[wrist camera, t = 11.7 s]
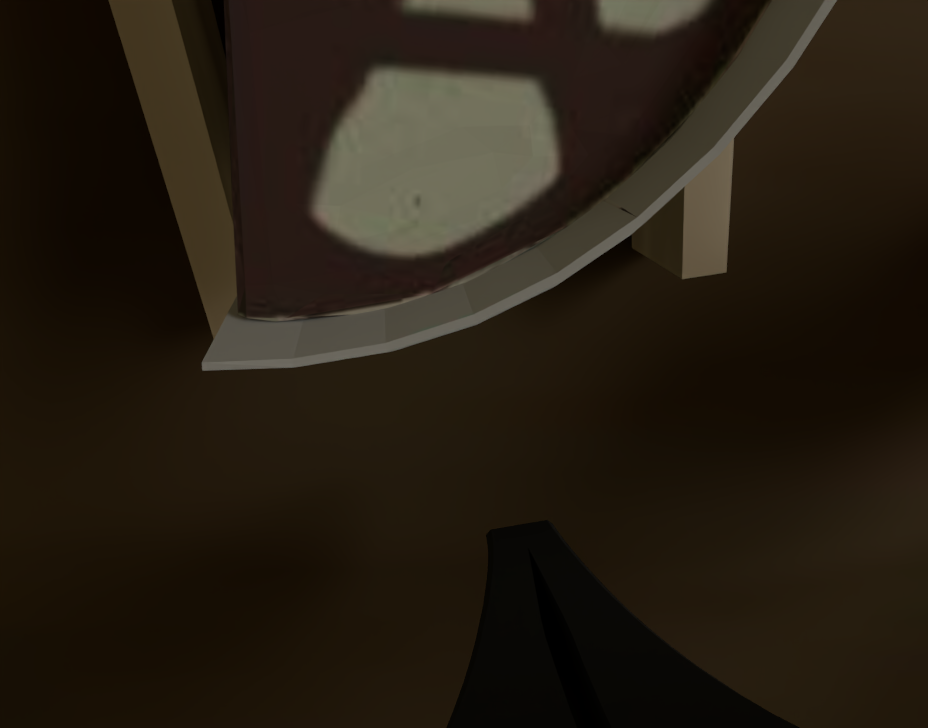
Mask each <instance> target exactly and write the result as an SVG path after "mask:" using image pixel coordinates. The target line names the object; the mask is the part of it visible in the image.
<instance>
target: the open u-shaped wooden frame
mask: <svg viewBox="0 0 928 728" xmlns="http://www.w3.org/2000/svg"><path fill="white" fill-rule="evenodd" d="M109 3H110V7H111V10H112V13H113V16H114V20H115V23H116V26H117V29H118V32H119V36H120V39H121V42H122V45H123V48H124V52H125V55H126V58H127V61H128V65H129V68H130V71H131V74H132V77H133V81H134V84H135V87H136V90H137V94H138V97H139V100H140V103H141V106H142V110H143V113H144V116H145V119H146V122H147V126H148V129H149V132H150V135H151V139H152V142H153V145H154V148H155V151H156V155H157V158H158V161H159V164H160V168H161V171H162V174H163V177H164V180H165V184H166V187H167V190H168V193H169V196H170V200H171V203H172V206H173V209H174V213H175V216H176V219H177V222H178V225H179V229H180V232H181V235H182V238H183V242H184V245H185V248H186V251H187V254H188V258H189V261H190V264H191V267H192V270H193V274H194V277H195V280H196V283H197V287H198V290H199V293H200V296H201V299H202V303H203V306H204V309H205V312H206V315H207V319H208V322H209V325H210V328H211V332H212V335H213V338H215V337H216V335H217V333H218V331H219V329H220V327H221V325H222V323H223V321H224V319H225V317H226V316H227V314H228V312H229V310H230V308H231V306H232V304H233V302H234V300H235V298H236V296H237V286H236V266H235V246H234V226H233V206H232V184H231V160H230V137H229V113H228V90H227V66H226V57H225V53H224V49H223V45H222V41H221V37H220V33H219V29H218V25H217V21H216V17H215V13H214V9H213V5H212V1H211V0H109ZM733 146H734V138H733V139H732V140H731V142H730V143H729V144H728V145H727V146H726V148H725V149H724V150H723V151H722V152H721V154H720V155H718V156H717V157H716V158H715V159H714V160H713V161H712V162H711V163H710V164H709V165H708V166H706V167H705V168H704V169H703V170H702V171H701V172H700V173H699V174H698V175H697V176H696V177H694V178H693V179H692V180H691V181H690V182H689V183H688V184H687V185H686V186H685V187H683V188H682V189H681V190H680V191H679V192H678V193H677V194H676V195H675V196H674V197H673V198H671V199H670V200H669V201H668V202H667V203H666V204H665V205H664V206H663V207H662V208H661V209H659V210H658V211H657V212H656V213H655V214H654V215H653V216H652V217H651V218H650V219H649V220H647V221H646V222H645V223H644V224H643V225H642V226H640V227H639V228H638V229H637V230H636V231H635V232H634V233H633V234H632V248H633V249H635V250H636V251H638V252H639V253H641V254H643V255H644V256H646V257H647V258H649V259H651V260H652V261H654V262H655V263H657V264H659V265H660V266H662V267H663V268H665V269H667V270H668V271H670V272H671V273H673V274H675V275H676V276H678V277H679V278H681V279H687V278H693V277H700V276H706V275H713V274H719V273H726V271H727V253H728V236H729V218H730V200H731V182H732V164H733Z"/></svg>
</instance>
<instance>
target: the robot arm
mask: <svg viewBox="0 0 928 728" xmlns="http://www.w3.org/2000/svg"><path fill="white" fill-rule="evenodd" d="M486 537H487V544H488V574H487V583H486V590H485V597H484V604H483V610H482V614H481V619H480V624H479V628H478V633H477V637H476V641H475V645H474V649H473V653H472V656H471V660H470V663H469V667H468V670H467V673H466V676H465V679H464V683H463V686H462V688H461V691H460V694H459V697H458V699H457V702H456V705H455V708H454V710H453V713H452V716H451V718H450V721H449V723H448V726H447V728H799V727H797V726H795V725H793V724H791V723H789V722H788V721H786V720H784V719H782V718H780V717H778V716H776V715H774V714H772V713H770V712H769V711H767V710H765V709H763V708H762V707H760V706H758V705H757V704H755V703H753V702H752V701H750V700H748V699H746V698H745V697H743V696H741V695H740V694H738V693H737V692H735V691H734V690H732V689H731V688H729V687H728V686H726V685H725V684H723V683H722V682H720V681H719V680H717V679H716V678H714V677H713V676H711V675H710V674H708V673H707V672H705V671H704V670H702V669H701V668H699V667H698V666H696V665H695V664H694V663H692V662H691V661H690V660H688V659H687V658H686V657H684V656H683V655H682V654H680V653H679V652H678V651H676V650H675V649H674V648H672V647H671V646H670V645H669V644H668V643H666V642H665V641H664V640H663V639H661V638H660V637H659V636H658V635H656V634H655V633H654V632H653V631H652V630H650V629H649V628H648V627H647V626H646V625H645V624H644V623H642V622H641V621H640V620H639V619H638V618H637V617H636V616H635V615H634V614H632V613H631V612H630V611H629V610H628V609H627V608H626V607H625V606H624V605H623V604H622V603H621V602H620V601H619V600H618V599H617V598H616V597H615V596H614V595H613V594H612V593H611V592H610V591H609V590H608V589H607V588H606V587H605V586H604V585H603V584H602V583H601V582H600V581H599V580H598V579H597V578H596V577H595V575H594V574H593V573H592V572H591V571H590V570H589V569H588V568H587V567H586V566H585V565H584V563H583V562H582V561H581V560H580V559H579V558H578V556H577V555H576V554H575V553H574V552H573V550H572V549H571V548H570V547H569V545H568V544H567V543H566V542H565V540H564V539H563V538H562V536H561V535H560V534H559V532H558V531H557V530H556V528H555V527H554V525H553V524H552V523H551V522H549V521H548V520H545V521H539V522H533V523H527V524H521V525H515V526H510V527H504V528H498V529H492V530H490V531H489V532H488V534H487V535H486Z"/></svg>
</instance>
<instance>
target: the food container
mask: <svg viewBox="0 0 928 728" xmlns="http://www.w3.org/2000/svg"><path fill="white" fill-rule="evenodd" d="M836 1H837V0H224V19H225V42H226V66H227V90H228V113H229V137H230V160H231V184H232V206H233V226H234V246H235V266H236V286H237V296H236V298H235V300H234V302H233V304H232V306H231V308H230V310H229V312H228V314H227V316H226V317H225V319H224V321H223V323H222V325H221V327H220V329H219V331H218V333H217V335H216V337H215V338H214V340H213V342H212V344H211V346H210V348H209V350H208V352H207V354H206V356H205V357H204V359H203V361H202V371H206V370H235V369H264V368H293V367H300V366H306V365H312V364H318V363H325V362H331V361H337V360H343V359H349V358H355V357H361V356H367V355H374V354H380V353H386V352H392V351H395V350H398V349H402V348H405V347H408V346H411V345H414V344H417V343H421V342H424V341H427V340H430V339H433V338H436V337H439V336H443V335H446V334H449V333H452V332H455V331H458V330H461V329H465V328H468V327H471V326H474V325H477V324H479V323H481V322H483V321H485V320H487V319H489V318H491V317H493V316H495V315H497V314H499V313H501V312H503V311H506V310H508V309H510V308H512V307H514V306H516V305H518V304H520V303H522V302H524V301H526V300H528V299H530V298H532V297H534V296H536V295H538V294H540V293H542V292H545V291H547V290H549V289H551V288H553V287H555V286H556V285H558V284H559V283H561V282H562V281H564V280H565V279H567V278H568V277H570V276H571V275H573V274H574V273H576V272H577V271H579V270H580V269H581V268H583V267H584V266H586V265H587V264H589V263H590V262H592V261H593V260H595V259H596V258H598V257H599V256H601V255H602V254H604V253H605V252H606V251H608V250H609V249H611V248H612V247H614V246H615V245H617V244H618V243H620V242H621V241H623V240H624V239H626V238H627V237H628V236H630V235H631V234H633V233H634V232H635V231H636V230H637V229H638V228H639V227H640V226H642V225H643V224H644V223H645V222H646V221H647V220H649V219H650V218H651V217H652V216H653V215H654V214H655V213H656V212H657V211H658V210H659V209H661V208H662V207H663V206H664V205H665V204H666V203H667V202H668V201H669V200H670V199H671V198H673V197H674V196H675V195H676V194H677V193H678V192H679V191H680V190H681V189H682V188H683V187H685V186H686V185H687V184H688V183H689V182H690V181H691V180H692V179H693V178H694V177H696V176H697V175H698V174H699V173H700V172H701V171H702V170H703V169H704V168H705V167H706V166H708V165H709V164H710V163H711V162H712V161H713V160H714V159H715V158H716V157H717V156H718V155H720V154H721V152H722V151H723V150H724V149H725V148H726V146H727V145H728V144H729V143H730V142H731V140H732V139H733V138H734V137H735V136H736V135H737V133H738V132H739V131H740V130H741V129H742V127H743V126H744V125H745V124H746V123H747V121H748V120H749V119H750V118H751V117H752V116H753V114H754V113H755V112H756V111H757V110H758V108H759V107H760V106H761V105H762V104H763V102H764V101H765V100H766V99H767V98H768V96H769V95H770V94H771V93H772V92H773V91H774V89H775V88H776V87H777V86H778V85H779V83H780V82H781V81H782V80H783V79H784V77H785V76H786V75H787V74H788V73H789V72H790V70H791V69H792V68H793V67H794V65H795V64H796V62H797V61H798V59H799V58H800V56H801V54H802V53H803V51H804V50H805V48H806V47H807V45H808V44H809V42H810V41H811V39H812V38H813V36H814V35H815V33H816V31H817V30H818V28H819V27H820V25H821V24H822V22H823V21H824V19H825V18H826V16H827V15H828V13H829V11H830V10H831V8H832V7H833V5H834V4H835V2H836Z"/></svg>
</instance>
